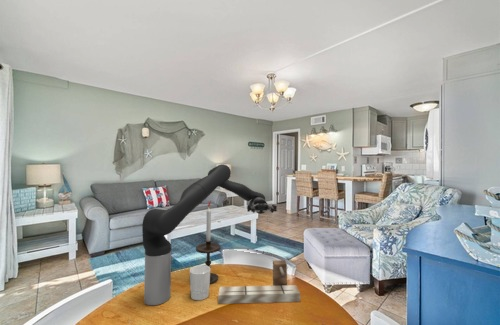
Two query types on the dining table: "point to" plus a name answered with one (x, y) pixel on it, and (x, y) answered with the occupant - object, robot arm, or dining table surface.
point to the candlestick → (209, 246)
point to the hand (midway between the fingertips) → (263, 210)
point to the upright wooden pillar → (279, 272)
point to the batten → (258, 294)
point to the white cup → (199, 282)
